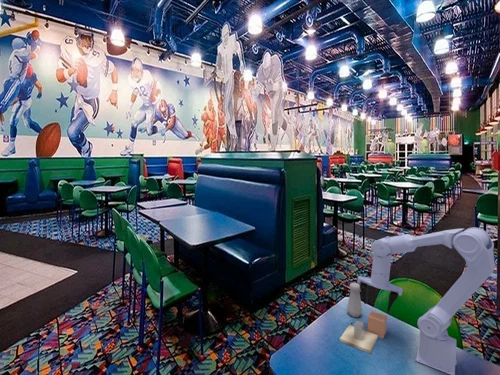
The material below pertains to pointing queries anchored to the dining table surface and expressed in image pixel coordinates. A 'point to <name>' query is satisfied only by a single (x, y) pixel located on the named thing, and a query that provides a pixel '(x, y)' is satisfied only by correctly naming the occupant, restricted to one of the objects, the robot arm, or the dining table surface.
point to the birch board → (363, 344)
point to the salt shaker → (354, 300)
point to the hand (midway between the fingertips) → (376, 306)
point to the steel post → (359, 330)
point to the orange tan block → (377, 323)
